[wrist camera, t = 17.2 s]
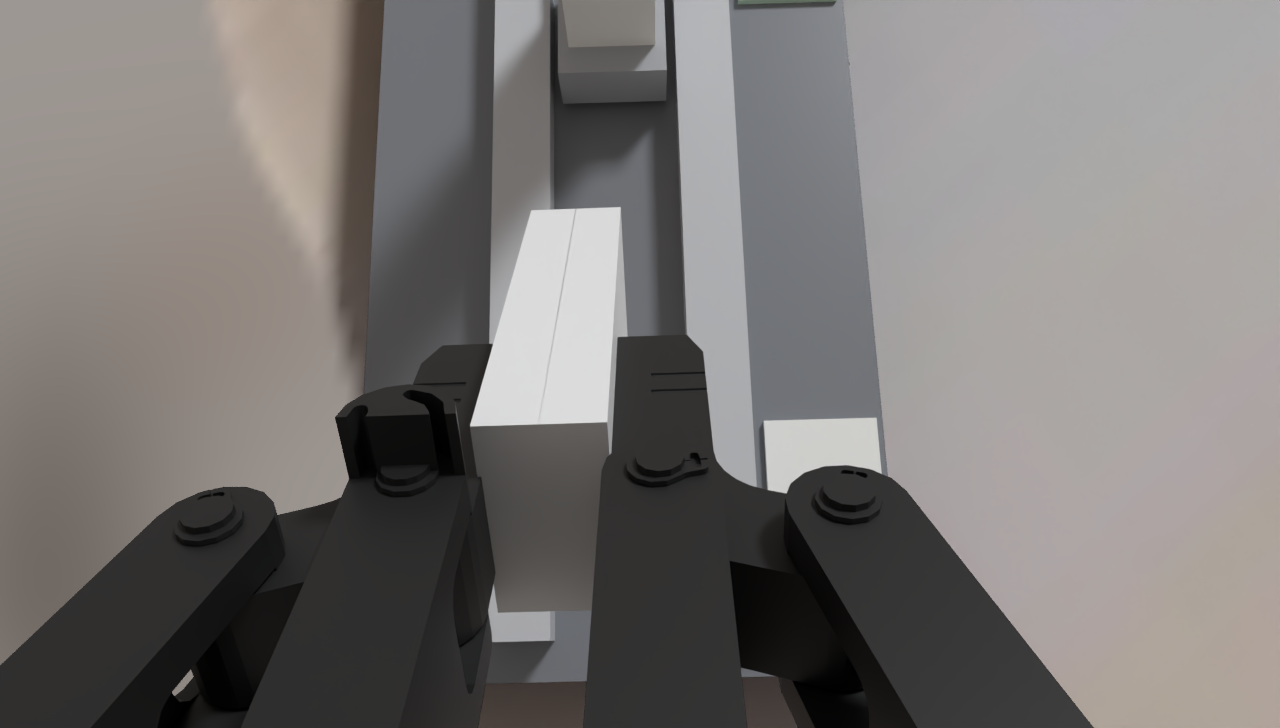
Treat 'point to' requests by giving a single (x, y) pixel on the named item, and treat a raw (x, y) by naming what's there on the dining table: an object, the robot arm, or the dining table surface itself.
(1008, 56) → the dining table surface
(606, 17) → the lever
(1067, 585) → the dining table surface
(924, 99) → the dining table surface
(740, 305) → the switch panel
